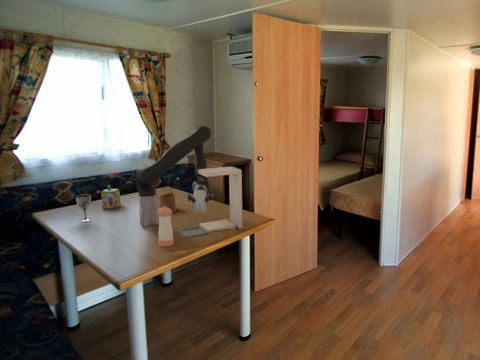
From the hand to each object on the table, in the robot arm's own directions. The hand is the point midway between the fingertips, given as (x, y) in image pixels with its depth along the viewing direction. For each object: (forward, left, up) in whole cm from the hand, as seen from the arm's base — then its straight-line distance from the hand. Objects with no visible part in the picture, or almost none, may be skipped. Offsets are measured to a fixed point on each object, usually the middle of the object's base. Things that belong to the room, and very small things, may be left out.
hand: (200, 200), depth 181 cm
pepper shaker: (-20, -8, -18) cm, 28 cm away
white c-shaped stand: (+12, +4, -18) cm, 22 cm away
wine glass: (-53, +52, -18) cm, 77 cm away
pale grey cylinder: (+1, +2, -6) cm, 7 cm away
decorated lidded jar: (-36, +77, -18) cm, 87 cm away
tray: (-4, +1, -18) cm, 18 cm away
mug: (-7, +52, -18) cm, 56 cm away
